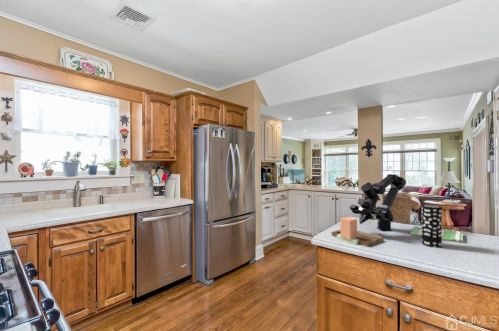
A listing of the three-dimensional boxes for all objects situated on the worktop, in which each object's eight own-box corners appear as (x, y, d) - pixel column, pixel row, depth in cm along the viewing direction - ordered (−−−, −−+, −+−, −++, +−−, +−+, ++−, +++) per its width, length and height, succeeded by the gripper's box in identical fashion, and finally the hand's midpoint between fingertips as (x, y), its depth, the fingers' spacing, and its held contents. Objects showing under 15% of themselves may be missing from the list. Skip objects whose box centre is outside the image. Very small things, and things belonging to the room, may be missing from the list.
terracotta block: (347, 234, 134) (347, 217, 133) (356, 237, 129) (356, 219, 128) (340, 236, 130) (340, 218, 130) (350, 239, 125) (350, 220, 125)
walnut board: (347, 231, 147) (347, 227, 147) (383, 241, 128) (383, 237, 128) (331, 235, 139) (331, 232, 139) (367, 246, 120) (367, 242, 120)
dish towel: (414, 228, 152) (414, 224, 152) (463, 236, 137) (463, 231, 137) (410, 235, 139) (410, 230, 139) (463, 244, 123) (463, 239, 123)
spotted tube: (437, 242, 125) (437, 205, 124) (444, 248, 117) (445, 208, 116) (418, 241, 127) (419, 204, 127) (424, 246, 119) (425, 207, 119)
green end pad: (340, 237, 135) (340, 233, 135) (359, 243, 125) (359, 239, 125) (336, 238, 133) (336, 234, 133) (356, 244, 123) (356, 240, 123)
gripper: (351, 191, 145) (339, 211, 140) (381, 195, 130) (370, 218, 124) (358, 202, 150) (348, 222, 144) (389, 207, 134) (378, 230, 128)
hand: (360, 223), depth 135 cm, fingers closed
